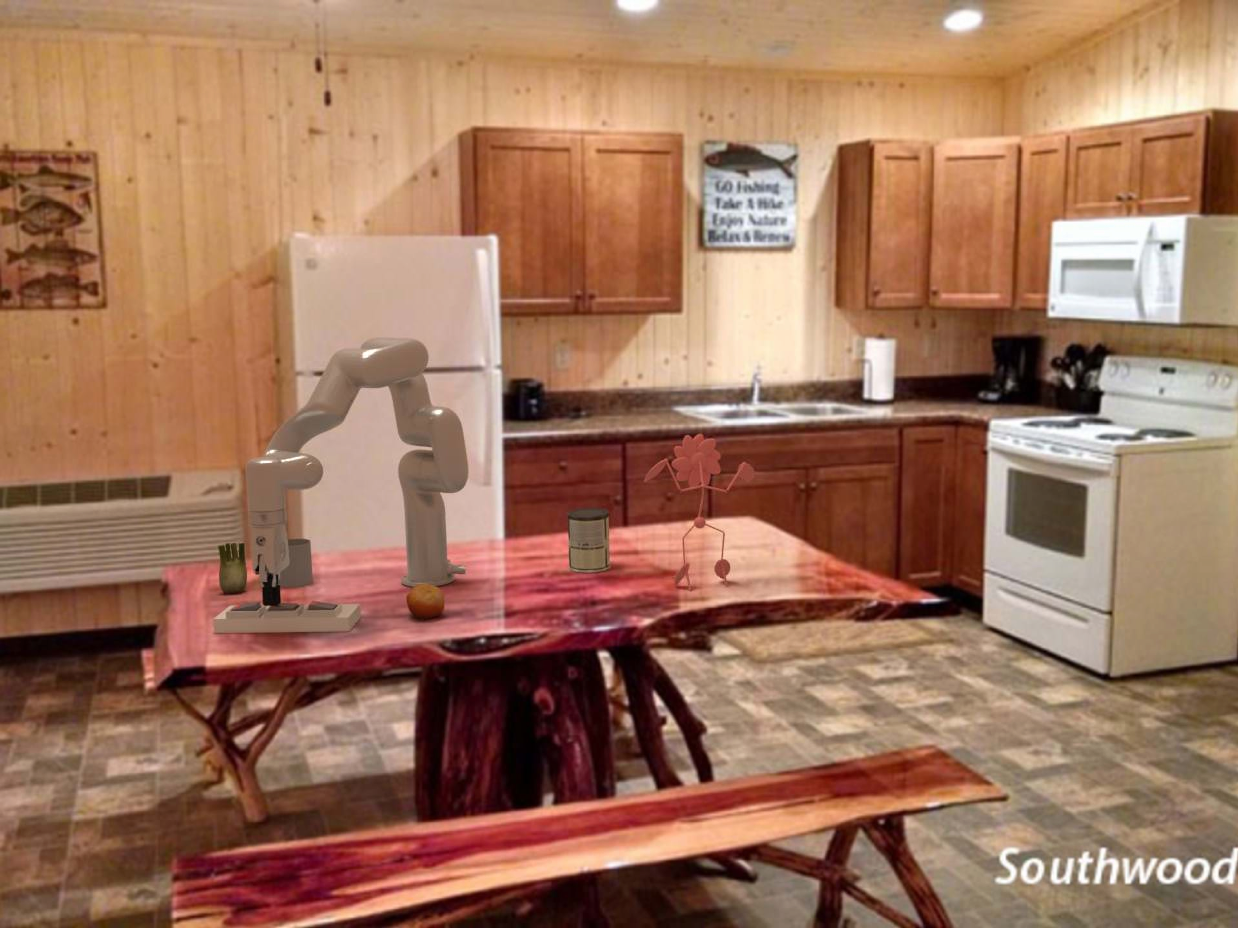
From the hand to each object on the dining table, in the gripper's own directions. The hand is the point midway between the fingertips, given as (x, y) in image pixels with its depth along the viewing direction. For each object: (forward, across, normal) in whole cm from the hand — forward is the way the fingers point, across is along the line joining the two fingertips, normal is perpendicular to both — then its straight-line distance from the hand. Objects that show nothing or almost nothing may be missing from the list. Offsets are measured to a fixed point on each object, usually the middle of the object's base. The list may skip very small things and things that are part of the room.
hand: (271, 604), depth 247 cm
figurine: (+4, +34, -89) cm, 96 cm away
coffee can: (+4, +49, -63) cm, 80 cm away
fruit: (+5, +8, -30) cm, 32 cm away
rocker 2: (+1, 0, -10) cm, 10 cm away
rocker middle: (+1, 0, -2) cm, 3 cm away
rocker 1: (+1, 0, +6) cm, 6 cm away
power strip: (+5, +3, -2) cm, 6 cm away
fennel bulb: (+5, +30, +19) cm, 35 cm away
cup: (+5, +38, +7) cm, 39 cm away
